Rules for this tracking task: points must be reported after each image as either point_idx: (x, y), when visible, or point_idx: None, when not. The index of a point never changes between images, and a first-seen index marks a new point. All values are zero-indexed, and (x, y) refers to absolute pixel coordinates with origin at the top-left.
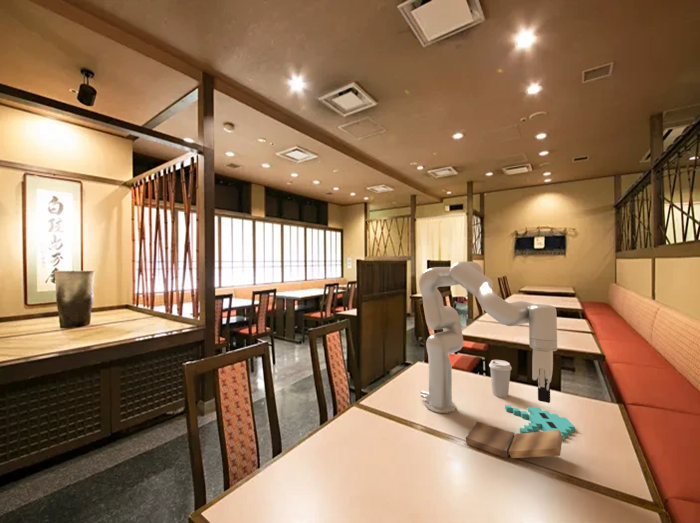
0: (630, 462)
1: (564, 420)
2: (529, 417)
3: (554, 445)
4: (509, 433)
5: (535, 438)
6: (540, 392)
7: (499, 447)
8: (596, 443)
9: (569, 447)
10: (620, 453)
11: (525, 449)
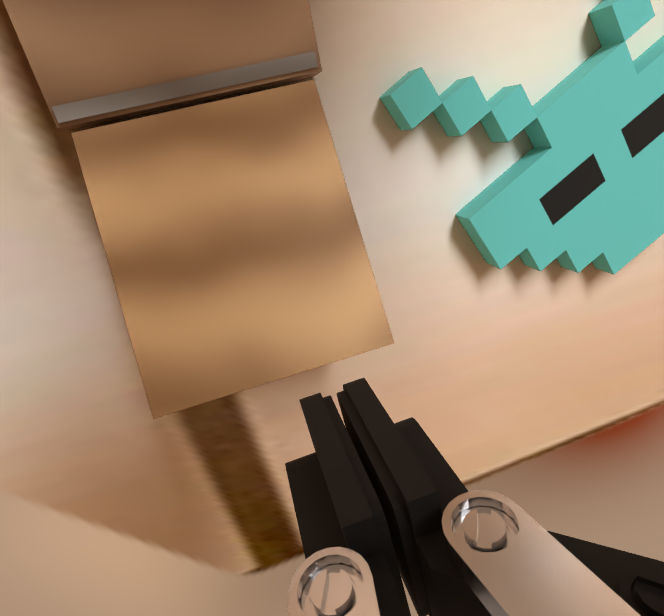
0: (487, 453)
1: (654, 218)
2: (601, 56)
3: (185, 393)
4: (290, 45)
5: (264, 239)
6: (330, 504)
7: (55, 67)
8: (548, 351)
9: (442, 298)
10: (527, 419)
11: (110, 234)
